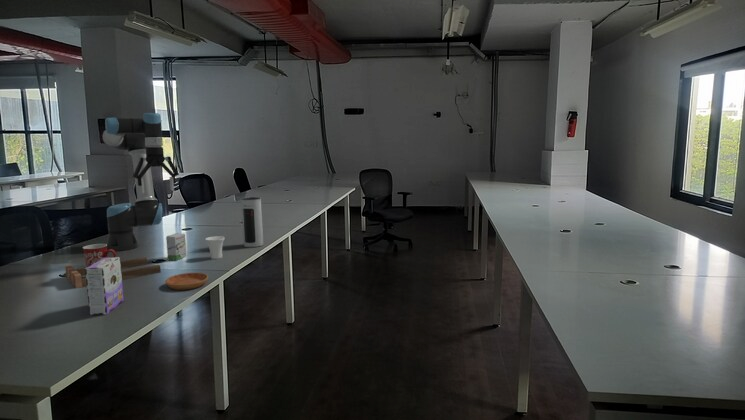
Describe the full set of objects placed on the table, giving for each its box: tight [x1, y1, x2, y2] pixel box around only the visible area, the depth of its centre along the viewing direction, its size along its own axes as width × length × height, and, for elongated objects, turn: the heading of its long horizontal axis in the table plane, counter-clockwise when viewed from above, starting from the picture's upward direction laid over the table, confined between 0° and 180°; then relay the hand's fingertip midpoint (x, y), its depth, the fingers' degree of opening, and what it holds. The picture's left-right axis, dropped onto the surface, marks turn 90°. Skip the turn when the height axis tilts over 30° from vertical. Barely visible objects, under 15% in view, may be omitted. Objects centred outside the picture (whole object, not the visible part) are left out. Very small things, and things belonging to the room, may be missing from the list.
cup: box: [204, 235, 225, 260], centre depth 233 cm, size 9×9×10 cm
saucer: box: [165, 272, 209, 291], centre depth 191 cm, size 16×16×3 cm
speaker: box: [240, 196, 264, 248], centre depth 257 cm, size 11×10×26 cm
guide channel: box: [64, 256, 161, 289], centre depth 205 cm, size 20×32×5 cm, turn 132°
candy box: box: [85, 256, 125, 316], centre depth 165 cm, size 14×6×16 cm, turn 5°
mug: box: [82, 243, 118, 267], centre depth 201 cm, size 13×9×14 cm
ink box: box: [165, 232, 188, 262], centre depth 232 cm, size 8×5×12 cm, turn 167°
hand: (157, 191), depth 227 cm, fingers open, 13 cm apart
